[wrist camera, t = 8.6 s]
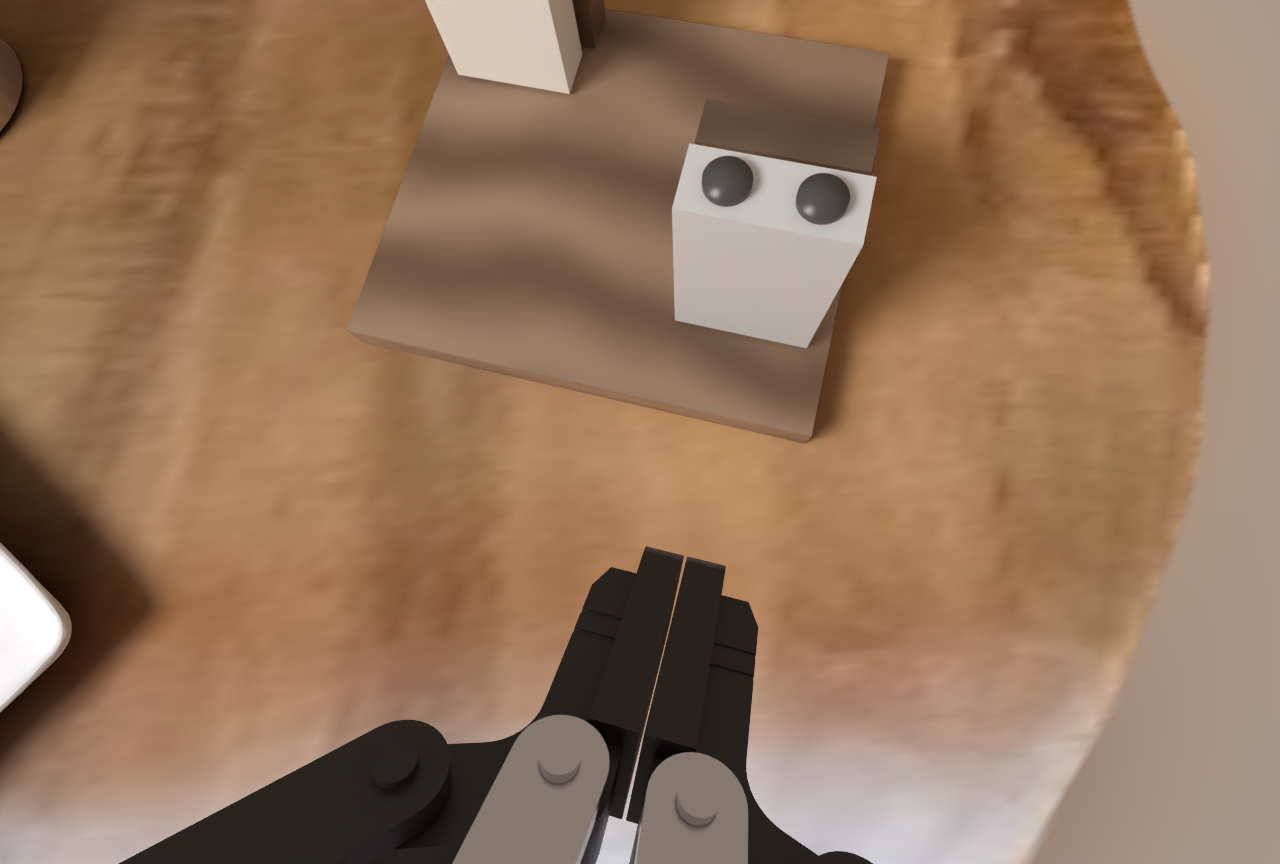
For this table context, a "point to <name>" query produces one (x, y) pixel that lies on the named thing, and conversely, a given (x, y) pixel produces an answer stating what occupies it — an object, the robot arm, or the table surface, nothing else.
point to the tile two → (763, 242)
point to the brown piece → (611, 216)
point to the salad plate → (26, 628)
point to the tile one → (511, 40)
